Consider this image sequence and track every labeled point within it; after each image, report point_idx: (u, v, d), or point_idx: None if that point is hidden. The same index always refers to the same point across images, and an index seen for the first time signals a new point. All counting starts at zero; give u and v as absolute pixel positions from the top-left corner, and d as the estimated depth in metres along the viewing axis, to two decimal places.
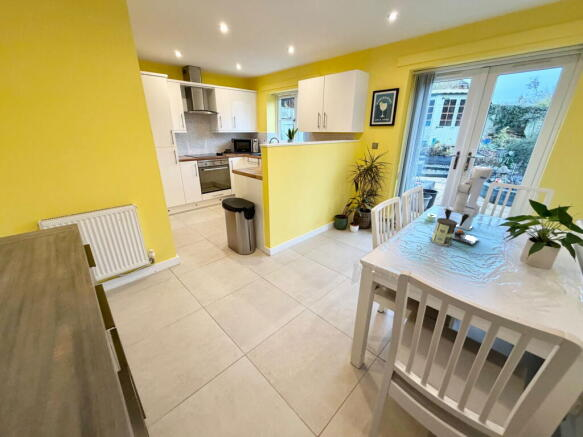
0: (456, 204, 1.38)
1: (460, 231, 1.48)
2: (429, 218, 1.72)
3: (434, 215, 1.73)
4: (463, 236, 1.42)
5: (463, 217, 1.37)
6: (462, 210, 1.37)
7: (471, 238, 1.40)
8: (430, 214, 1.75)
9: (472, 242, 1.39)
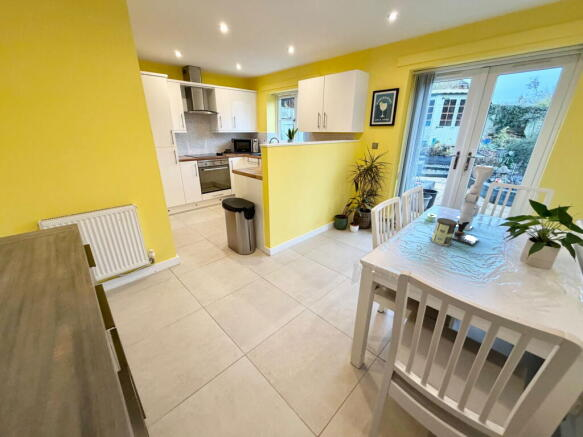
0: None
1: (460, 232, 1.48)
2: (429, 218, 1.72)
3: (434, 215, 1.73)
4: (463, 236, 1.42)
5: None
6: (461, 217, 1.44)
7: (471, 238, 1.40)
8: (430, 214, 1.75)
9: (472, 242, 1.39)
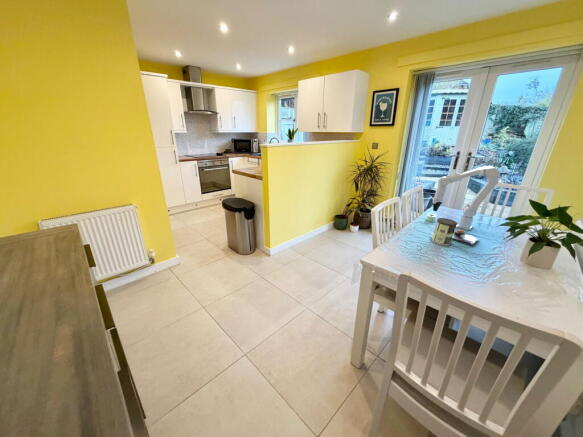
0: None
1: (460, 231, 1.48)
2: (429, 218, 1.72)
3: (434, 215, 1.73)
4: (463, 236, 1.42)
5: None
6: (435, 198, 1.65)
7: (471, 238, 1.40)
8: (430, 214, 1.75)
9: (472, 242, 1.39)
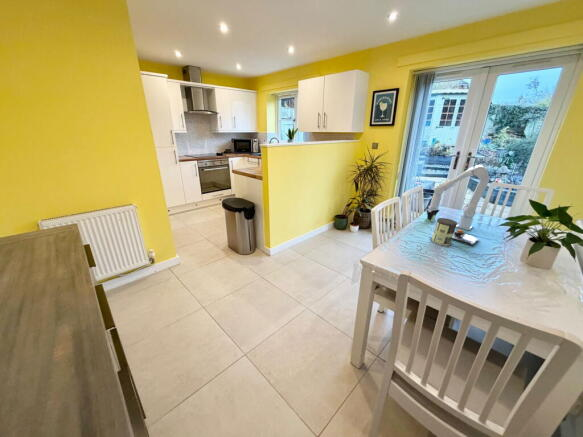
0: None
1: (460, 231, 1.48)
2: None
3: (434, 215, 1.73)
4: (463, 236, 1.42)
5: None
6: (431, 206, 1.69)
7: (471, 238, 1.40)
8: None
9: (472, 242, 1.39)
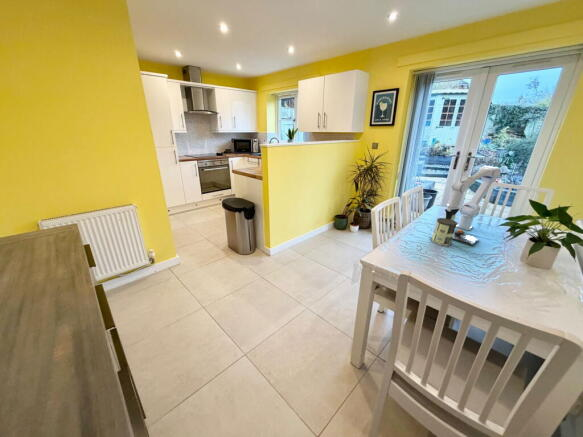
0: None
1: (460, 231, 1.48)
2: None
3: (453, 215, 1.55)
4: (463, 236, 1.42)
5: None
6: (450, 205, 1.51)
7: (471, 238, 1.40)
8: None
9: (472, 242, 1.39)
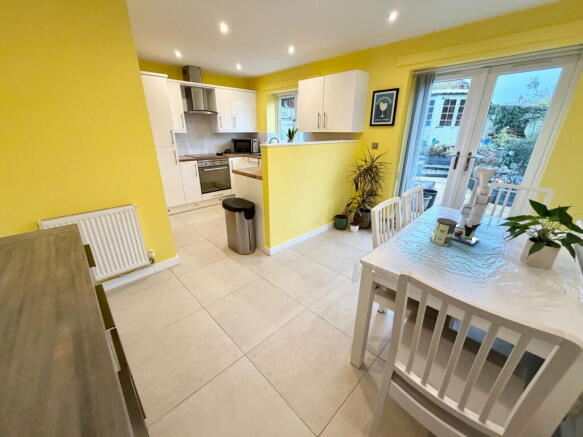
0: None
1: (460, 231, 1.48)
2: None
3: (473, 231, 1.40)
4: None
5: None
6: (470, 220, 1.36)
7: None
8: None
9: (472, 242, 1.39)
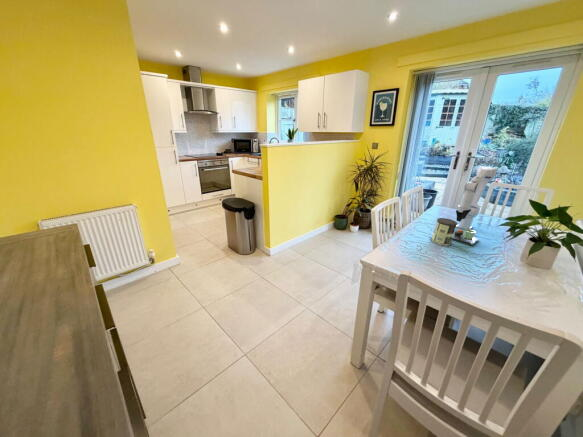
0: None
1: (460, 231, 1.48)
2: (467, 235, 1.39)
3: (473, 231, 1.40)
4: None
5: None
6: (461, 206, 1.47)
7: None
8: (467, 229, 1.42)
9: (472, 242, 1.39)
